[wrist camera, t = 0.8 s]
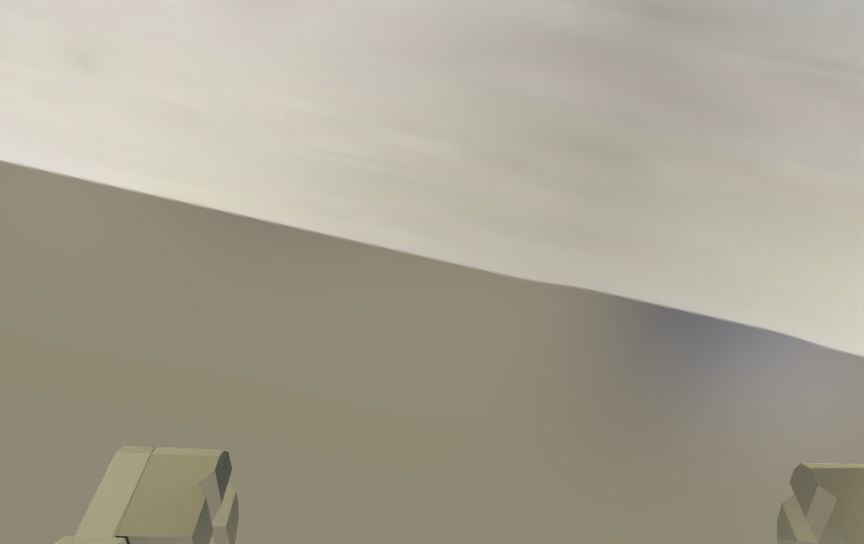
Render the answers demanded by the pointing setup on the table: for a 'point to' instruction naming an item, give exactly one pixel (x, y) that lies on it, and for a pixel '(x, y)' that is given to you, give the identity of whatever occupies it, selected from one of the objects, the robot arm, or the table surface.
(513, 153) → the table surface
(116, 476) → the robot arm
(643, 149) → the table surface
